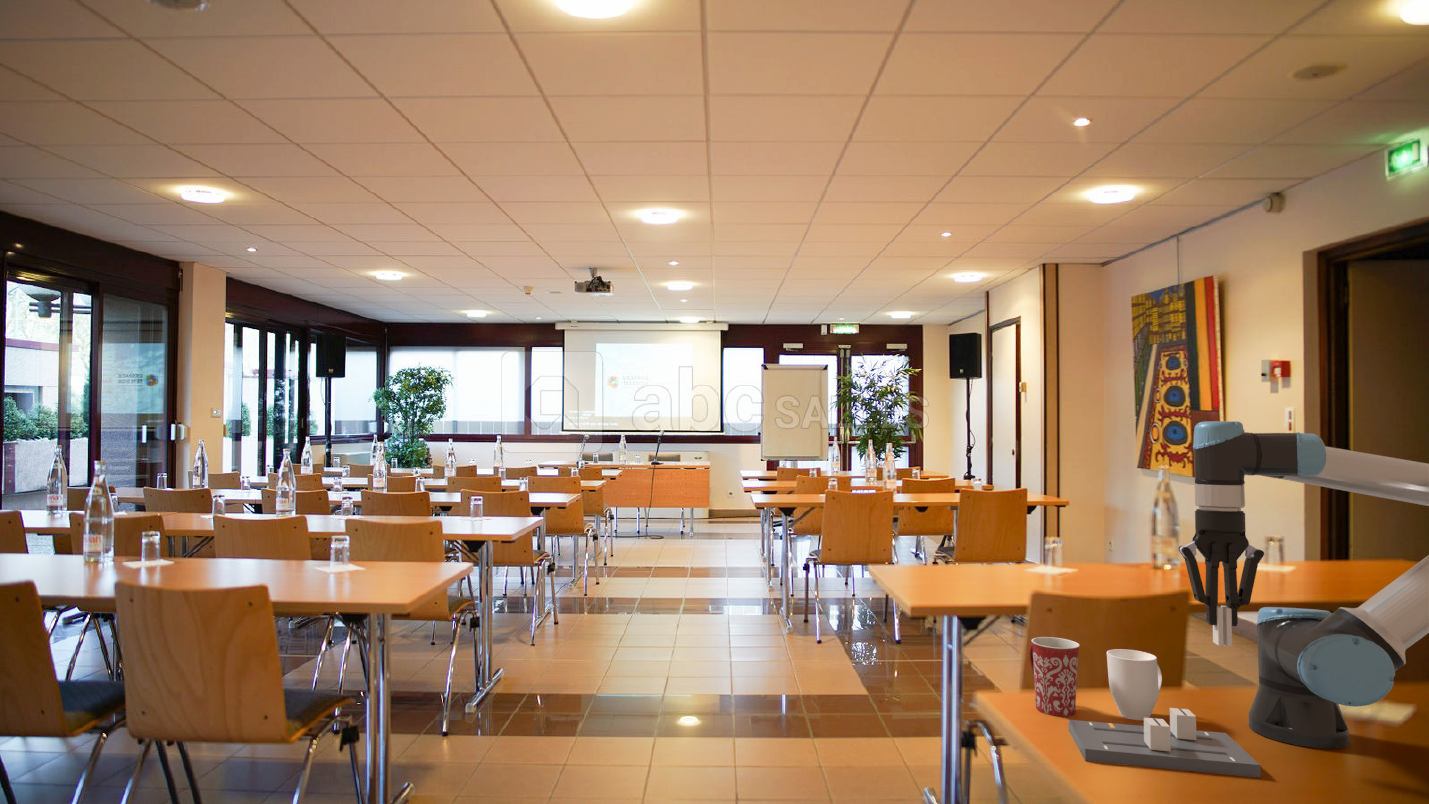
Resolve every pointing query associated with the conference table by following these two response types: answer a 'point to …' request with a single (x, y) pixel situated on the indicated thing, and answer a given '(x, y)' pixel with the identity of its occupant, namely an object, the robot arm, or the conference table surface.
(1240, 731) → the conference table surface
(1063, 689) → the mug
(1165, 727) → the fader
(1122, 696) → the mug
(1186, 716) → the block
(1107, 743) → the console
